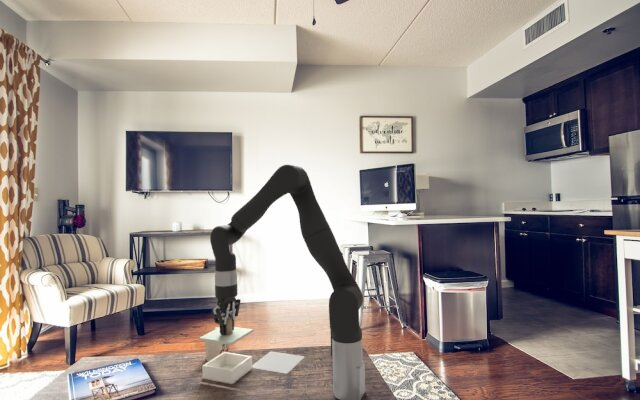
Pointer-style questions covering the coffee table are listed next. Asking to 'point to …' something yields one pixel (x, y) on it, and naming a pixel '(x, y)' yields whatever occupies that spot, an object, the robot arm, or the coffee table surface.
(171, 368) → the coffee table surface
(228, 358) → the dish
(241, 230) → the robot arm
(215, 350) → the teacup with lid
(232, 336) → the lid
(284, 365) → the mat
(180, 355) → the coffee table surface
